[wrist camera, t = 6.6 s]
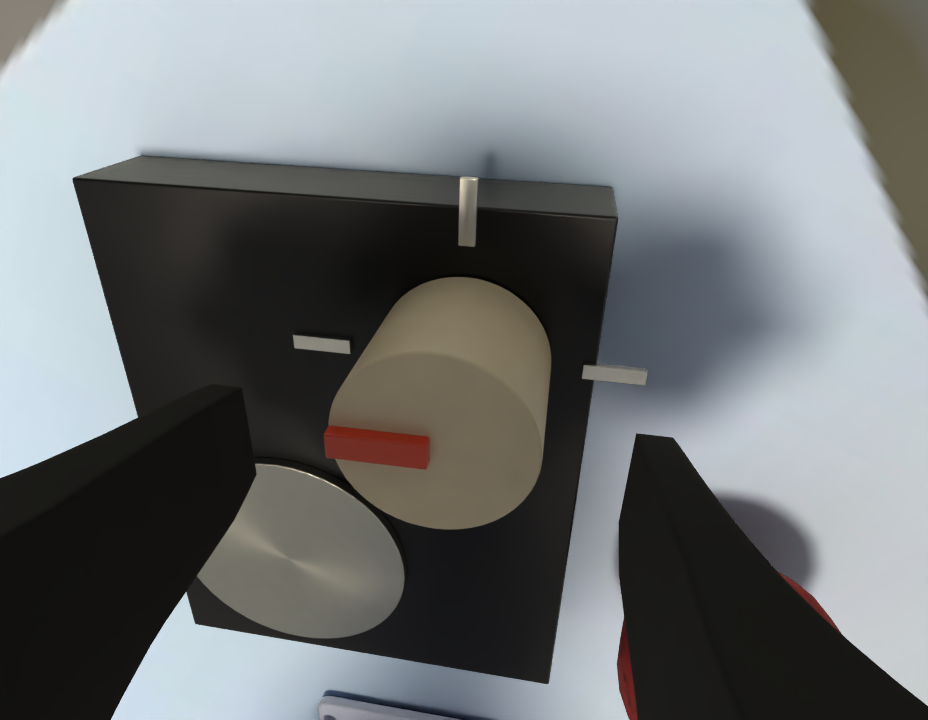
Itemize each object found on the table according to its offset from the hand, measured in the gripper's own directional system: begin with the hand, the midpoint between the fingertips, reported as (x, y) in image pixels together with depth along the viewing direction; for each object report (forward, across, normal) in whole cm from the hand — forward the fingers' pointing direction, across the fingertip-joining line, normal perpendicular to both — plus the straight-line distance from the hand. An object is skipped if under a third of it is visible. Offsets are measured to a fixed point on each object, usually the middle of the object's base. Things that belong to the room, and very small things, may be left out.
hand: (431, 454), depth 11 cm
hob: (+6, +3, +4) cm, 8 cm away
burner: (+4, +5, +7) cm, 9 cm away
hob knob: (+4, 0, 0) cm, 4 cm away
